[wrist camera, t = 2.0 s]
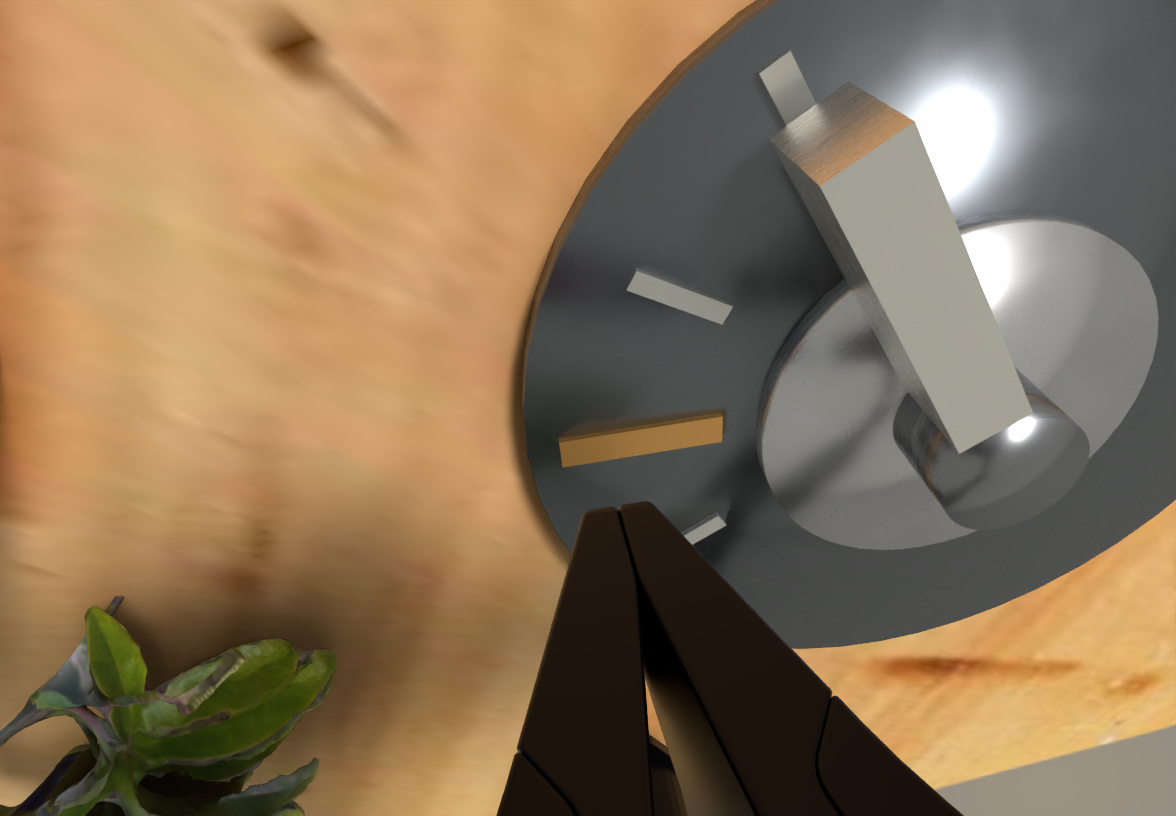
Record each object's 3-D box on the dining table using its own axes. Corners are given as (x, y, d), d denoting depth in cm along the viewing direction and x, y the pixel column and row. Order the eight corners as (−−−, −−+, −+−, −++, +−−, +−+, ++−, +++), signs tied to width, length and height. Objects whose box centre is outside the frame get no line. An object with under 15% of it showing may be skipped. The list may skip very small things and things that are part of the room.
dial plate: (1354, 404, 28) (1386, 423, 27) (755, 702, 35) (763, 726, 34) (1341, -453, 14) (1407, -476, 13) (328, 329, 21) (321, 352, 20)
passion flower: (204, 613, 34) (-48, 891, 27) (81, 465, 26) (-323, 805, 19) (408, 726, 31) (182, 1079, 24) (340, 595, 23) (-36, 1072, 15)
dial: (1166, 410, 25) (1262, 487, 22) (844, 580, 28) (891, 668, 25) (1046, -81, 16) (1186, -64, 13) (583, 253, 19) (608, 330, 16)
